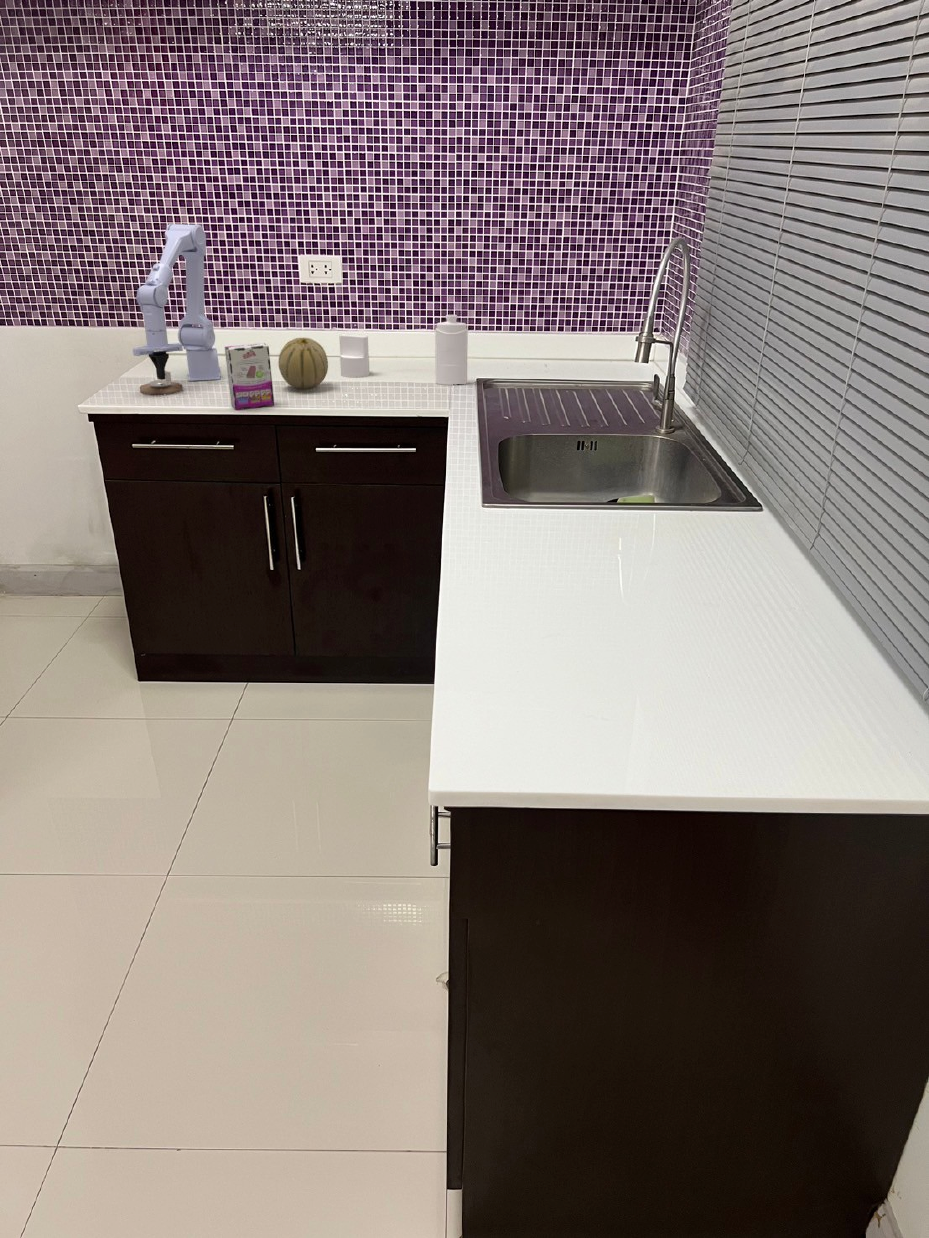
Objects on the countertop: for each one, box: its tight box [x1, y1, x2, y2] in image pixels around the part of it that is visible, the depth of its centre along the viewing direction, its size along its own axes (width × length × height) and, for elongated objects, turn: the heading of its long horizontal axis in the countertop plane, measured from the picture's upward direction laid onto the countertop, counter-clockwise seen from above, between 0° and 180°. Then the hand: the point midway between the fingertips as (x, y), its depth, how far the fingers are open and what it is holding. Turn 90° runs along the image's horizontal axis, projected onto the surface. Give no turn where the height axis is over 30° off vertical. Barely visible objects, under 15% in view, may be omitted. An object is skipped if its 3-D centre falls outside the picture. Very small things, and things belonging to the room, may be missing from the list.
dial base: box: [139, 381, 184, 396], centre depth 273 cm, size 12×12×1 cm
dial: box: [149, 370, 173, 388], centre depth 271 cm, size 8×6×4 cm
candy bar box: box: [224, 342, 275, 411], centre depth 254 cm, size 11×5×16 cm, turn 117°
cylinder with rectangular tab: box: [339, 333, 371, 379], centre depth 292 cm, size 9×9×12 cm
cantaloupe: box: [278, 337, 329, 390], centre depth 274 cm, size 15×15×15 cm
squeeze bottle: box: [434, 314, 469, 386], centre depth 280 cm, size 10×20×5 cm
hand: (161, 379), depth 268 cm, fingers closed, pressing on dial
